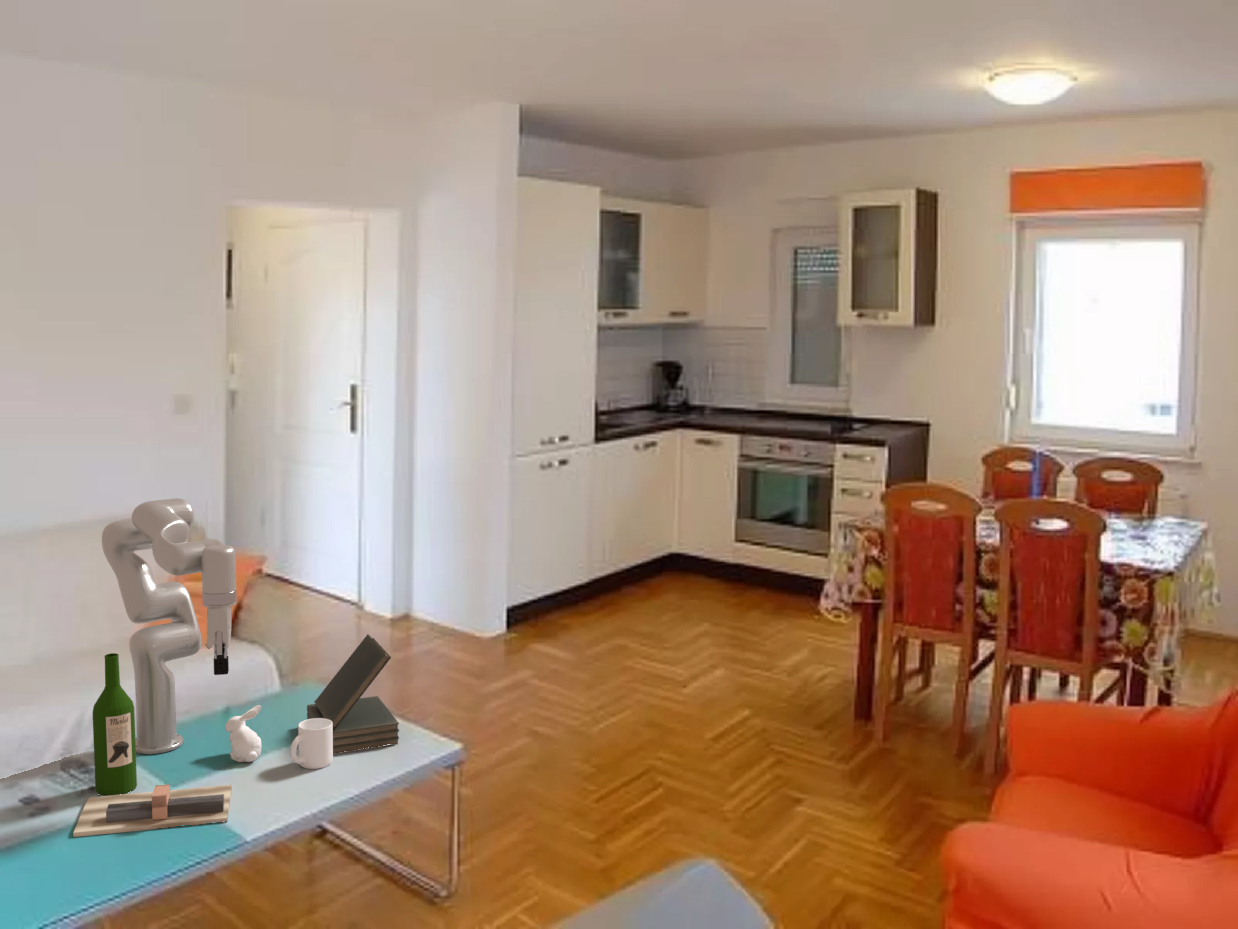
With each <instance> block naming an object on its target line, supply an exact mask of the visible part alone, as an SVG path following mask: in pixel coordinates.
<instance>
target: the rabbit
mask: <svg viewBox="0 0 1238 929" xmlns="http://www.w3.org/2000/svg"><path fill="white" fill-rule="evenodd" d="M261 711H262V706H261V705H260V704H257V705H255V706H253V707H251V709H249V710H248V711H246V712H245V713H243V714H242V715H235V716H232V717H230V718H229V719H228V720H227V722H226V723H225V725H224V728H225V731H226V732H228V733H229V732H230V734H229V742H230V747H231V752H230V753H229V756H230V759H231V760H233V761H234V762H235V761H236V762H238V763H245V762H246V763H251V762H254V761H257V759H259V757H260V755H261V753H262V739H261V737H260V736H258V734H257V732H256V731H254V730H253V729H251V728H250V727H249V726H247V725H246V721H248V720H251V719H254V718H255V717H257V715H258V714H259V713H260V712H261Z"/></svg>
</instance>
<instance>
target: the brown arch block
mask: <svg viewBox="0 0 1238 929" xmlns="http://www.w3.org/2000/svg"><path fill="white" fill-rule="evenodd" d="M170 790H171V786H170V784H168V783H167V784H159V785H157V784H156V785H154V788H153V791H152V792H153V795H152V820H157V819H167V804H168V801H169V799H170Z"/></svg>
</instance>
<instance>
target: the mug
mask: <svg viewBox="0 0 1238 929" xmlns="http://www.w3.org/2000/svg"><path fill="white" fill-rule="evenodd" d="M297 727H298V732H297V733H298V735H297V736H295V738H294V740H292V743H291V746H290V758H291V761H292V762H294V763H295V764H296V765H297V764H299V766H301V767H302V768H304V769H307V770H320V769H323V768H326V767H329V766H330V765H331V764H332V763H333V761H334V760H333V759H334V754H333V723H332V721H331V720H329V719H325V718H313V719H307V718H306V719H305V720H301V721H300V722H299V723H298V726H297ZM297 748H298V755H297Z"/></svg>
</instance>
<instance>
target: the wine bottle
mask: <svg viewBox="0 0 1238 929" xmlns="http://www.w3.org/2000/svg"><path fill="white" fill-rule="evenodd" d="M119 656H120V655H119V654H118V653H113V652H111V653H107V654H105V655H104V657H103V658H104V684H105V686H104V688H103V690H102V692H101V693H100V695H99V697H98V698H97V700H96V701H95V703H94V705H93V707H92V708H93V709H92V733H93V734H92V735H93V756H94V757H93V759H94V760H93V761H94V764H93V765H94V781H95V782H94V784H95V792H97V793H98V794H101V795H103V796H110V795H120V794H126V793H127V794H129V793H131V792H133V791H135V789H136V788H137V785H138V777H137V753H136V743H135V739H136V720H135V719H136V716H135V715H136V713H135V705H134V702H133V700H132V699H131V698H130V695H128V694H127V692H126V691H125V690H124V689H123V687H122V685H121V679H120V678H121V677H120V665H119V664H120V662H119V661H120V660H119ZM130 791H131V792H130ZM128 792H129V793H128ZM97 793H96V794H97ZM98 794H97V795H98Z"/></svg>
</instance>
